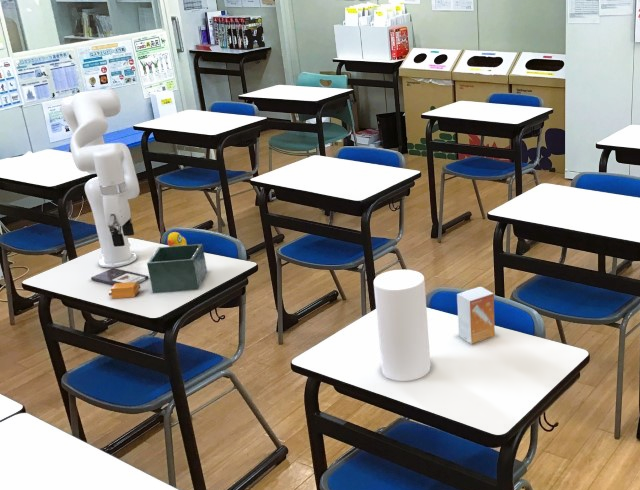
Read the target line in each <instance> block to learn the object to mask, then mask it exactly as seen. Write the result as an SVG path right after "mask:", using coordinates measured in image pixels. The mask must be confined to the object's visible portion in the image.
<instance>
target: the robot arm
mask: <svg viewBox="0 0 640 490" xmlns="http://www.w3.org/2000/svg"><path fill="white" fill-rule="evenodd" d="M60 110H61V114H62V116H63V119H64V120H65V122H66V124H67V125H68V127H69V129H70V130H71V131H72V132H73V133H72V135H71V138H70V141H69V147H70V152H71V156H72V159H73V162H74V165H75V167H76V168H77V170H79V171H81V172H83V173H85V172H86V173H87V174H90V175H95V174H96V175H97V176H96V177H93V178H91V179H89V180H88V181H87V182H86V183H85V184H84V192H85V195H86V198H87V201H88V203H89V205H90V209H91V212H92V216H93V221H94V224H95V229H96V234H97V238H98V241H99V242H98V243H99V247H100V252H101V255H102V258H101V259H99V261H98V264H99V266H100V267H103V268H107V269H108V268H110V269H112V268H119V267H123V266H127V265H129V264H132V263H134V262H135V261H136V260H137V254H136V253H134V252H131V248H130V247H131V243H130V241H129V236H131V237H132V236H134V235H135V231H134V227H133V225H134V224H133V223H132V222H133V219H132V213H131V208H130V203H129V200H133V199H136V198H137V197H138V196H140V193H141V192H140V185H139V180H138V176H137V173H136V169H135V165H134V160H133V157H132V154H131V151H130V148H129V147H128V146H127V145H126V144H125V143H124V142H111V143H110V142H109V143H105V140H104V136H103V135H105V134H106V133H107V131H108V128H109V124H108V121H107V118H111V117H115V116H117V115H119V113H120V112H121V101H120V98H119V96H118V94H117V93H116V92H115V91H114V90H113V89H110V88H105V89H96V90H88V91H82V92H78V93H77V94H75V95H74V96H69V97H66V98H63V100H61V102H60Z"/></svg>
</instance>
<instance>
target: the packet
mask: <svg viewBox="0 0 640 490" xmlns="http://www.w3.org/2000/svg"><path fill="white" fill-rule="evenodd" d="M141 288H142V287H141V284H137V282H127V283H115V284H114V285H112V287H110V290H109V292H108V296H111V297H112V299H113V300H114V299H126V298H127V299H128V298H135V297H136V296H137V295H138V293H139V291H140V289H141Z"/></svg>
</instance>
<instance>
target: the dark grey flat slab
mask: <svg viewBox="0 0 640 490" xmlns="http://www.w3.org/2000/svg"><path fill="white" fill-rule="evenodd" d="M90 279H91V281H94V282H99V283H103V284H107V285H111V286H113V285H114V284H115V283H127V282H137V285H139V284H140V283H143V282H144V281H146V280H150V277H149V275H146V274H143V273H137V272H132V271H130V270H129V271H128V270H124V269H120V268H116V267H111V268H110V269H107V270H105V271H103V272H100V273H98V274H95V275H93V276H91V277H90Z"/></svg>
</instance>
